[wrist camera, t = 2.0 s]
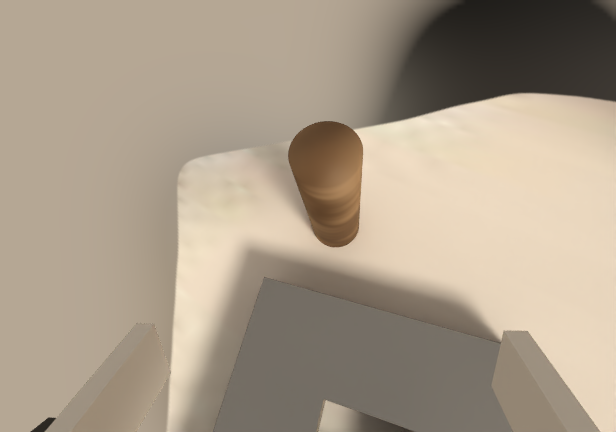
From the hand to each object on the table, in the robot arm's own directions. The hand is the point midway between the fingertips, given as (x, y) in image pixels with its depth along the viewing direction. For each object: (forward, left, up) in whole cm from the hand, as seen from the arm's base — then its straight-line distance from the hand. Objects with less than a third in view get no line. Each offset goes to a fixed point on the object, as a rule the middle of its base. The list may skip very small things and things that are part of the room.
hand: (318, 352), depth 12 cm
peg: (+3, -10, -16) cm, 19 cm away
